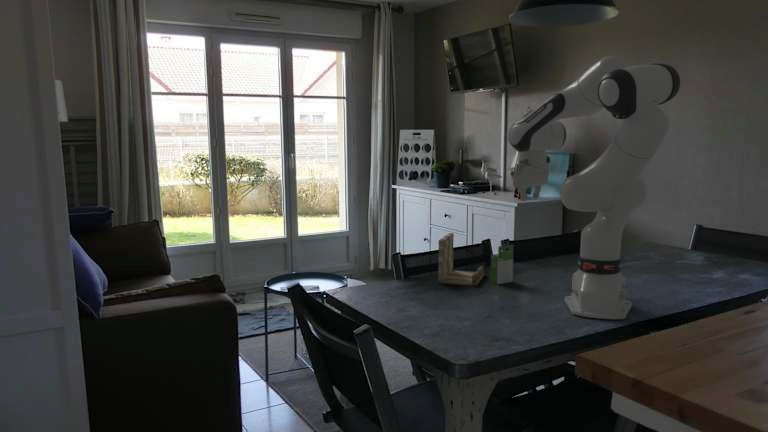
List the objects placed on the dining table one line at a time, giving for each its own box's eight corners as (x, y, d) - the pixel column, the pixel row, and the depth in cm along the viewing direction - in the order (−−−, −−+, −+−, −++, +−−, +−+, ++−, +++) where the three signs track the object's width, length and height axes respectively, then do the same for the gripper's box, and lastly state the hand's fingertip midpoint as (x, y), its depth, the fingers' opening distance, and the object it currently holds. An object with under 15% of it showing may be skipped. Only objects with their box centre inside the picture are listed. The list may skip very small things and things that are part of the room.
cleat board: (476, 286, 191) (476, 242, 189) (438, 282, 196) (438, 240, 194) (484, 275, 206) (484, 234, 204) (448, 272, 210) (449, 233, 208)
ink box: (505, 279, 200) (506, 242, 198) (513, 282, 196) (514, 244, 194) (489, 282, 196) (490, 244, 194) (497, 284, 193) (498, 246, 191)
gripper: (526, 160, 181) (524, 203, 183) (552, 158, 197) (550, 197, 199) (508, 160, 185) (507, 201, 187) (535, 157, 201) (534, 195, 203)
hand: (529, 199), depth 193 cm, fingers open, 8 cm apart
